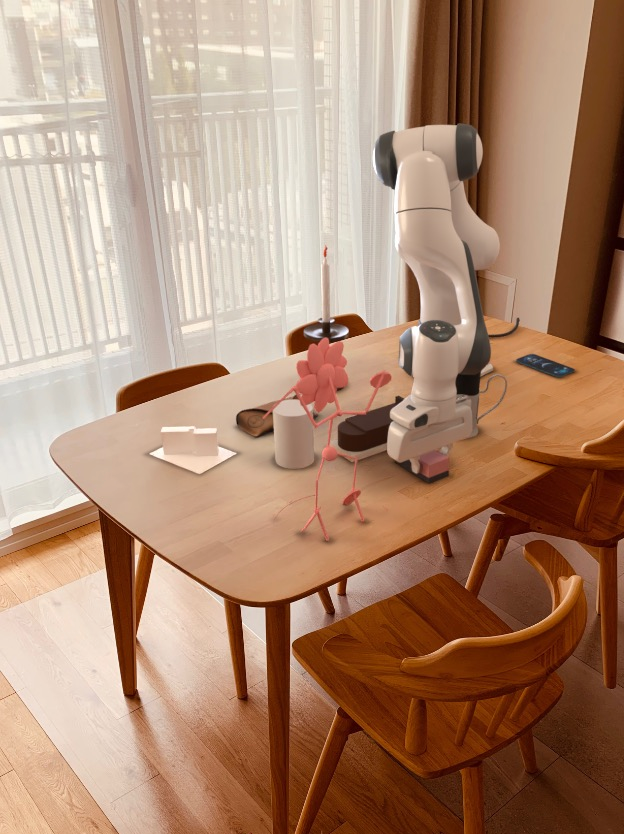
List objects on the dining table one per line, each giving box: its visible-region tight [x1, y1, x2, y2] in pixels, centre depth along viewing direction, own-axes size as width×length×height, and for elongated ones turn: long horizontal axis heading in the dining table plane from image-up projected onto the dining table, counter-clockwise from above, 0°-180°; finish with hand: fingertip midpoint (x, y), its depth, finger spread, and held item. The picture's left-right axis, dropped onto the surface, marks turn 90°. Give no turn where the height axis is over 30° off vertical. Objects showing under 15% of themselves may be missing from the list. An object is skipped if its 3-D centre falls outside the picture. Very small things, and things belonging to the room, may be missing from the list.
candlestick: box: [303, 244, 350, 393], centre depth 193 cm, size 11×11×35 cm
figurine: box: [263, 337, 393, 542], centre depth 141 cm, size 15×26×35 cm, turn 137°
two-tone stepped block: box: [394, 449, 450, 484], centre depth 166 cm, size 11×5×4 cm, turn 39°
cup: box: [273, 399, 315, 470], centre depth 166 cm, size 8×8×12 cm
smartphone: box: [515, 353, 576, 378], centre depth 216 cm, size 8×1×15 cm
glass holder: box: [455, 371, 508, 440], centre depth 179 cm, size 9×14×15 cm, turn 91°
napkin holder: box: [149, 425, 237, 475], centre depth 169 cm, size 15×11×6 cm
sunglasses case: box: [235, 394, 319, 438], centre depth 184 cm, size 18×7×7 cm, turn 132°
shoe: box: [329, 395, 406, 463], centre depth 175 cm, size 20×8×8 cm, turn 128°
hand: (429, 467), depth 165 cm, fingers closed on two-tone stepped block, 5 cm apart
